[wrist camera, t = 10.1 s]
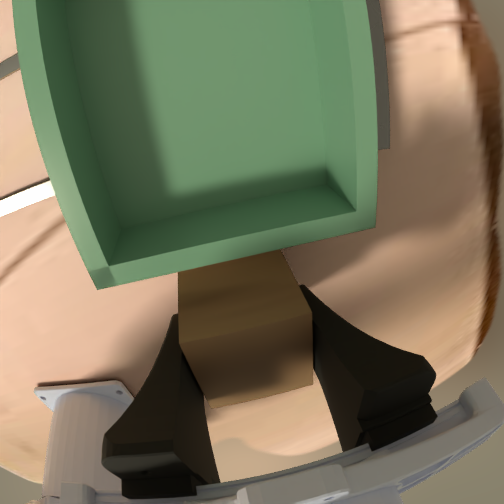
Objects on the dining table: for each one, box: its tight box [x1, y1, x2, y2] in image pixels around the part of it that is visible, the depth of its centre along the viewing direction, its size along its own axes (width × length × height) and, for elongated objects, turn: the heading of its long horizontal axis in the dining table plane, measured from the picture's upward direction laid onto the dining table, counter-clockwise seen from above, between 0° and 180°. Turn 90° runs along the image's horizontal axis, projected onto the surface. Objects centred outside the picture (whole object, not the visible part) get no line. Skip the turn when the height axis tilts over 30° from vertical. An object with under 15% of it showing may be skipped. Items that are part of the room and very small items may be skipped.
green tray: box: [12, 0, 378, 290], centre depth 9 cm, size 12×10×4 cm
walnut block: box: [178, 249, 313, 409], centre depth 13 cm, size 4×4×4 cm
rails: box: [0, 0, 390, 216], centre depth 10 cm, size 8×23×2 cm, turn 98°
